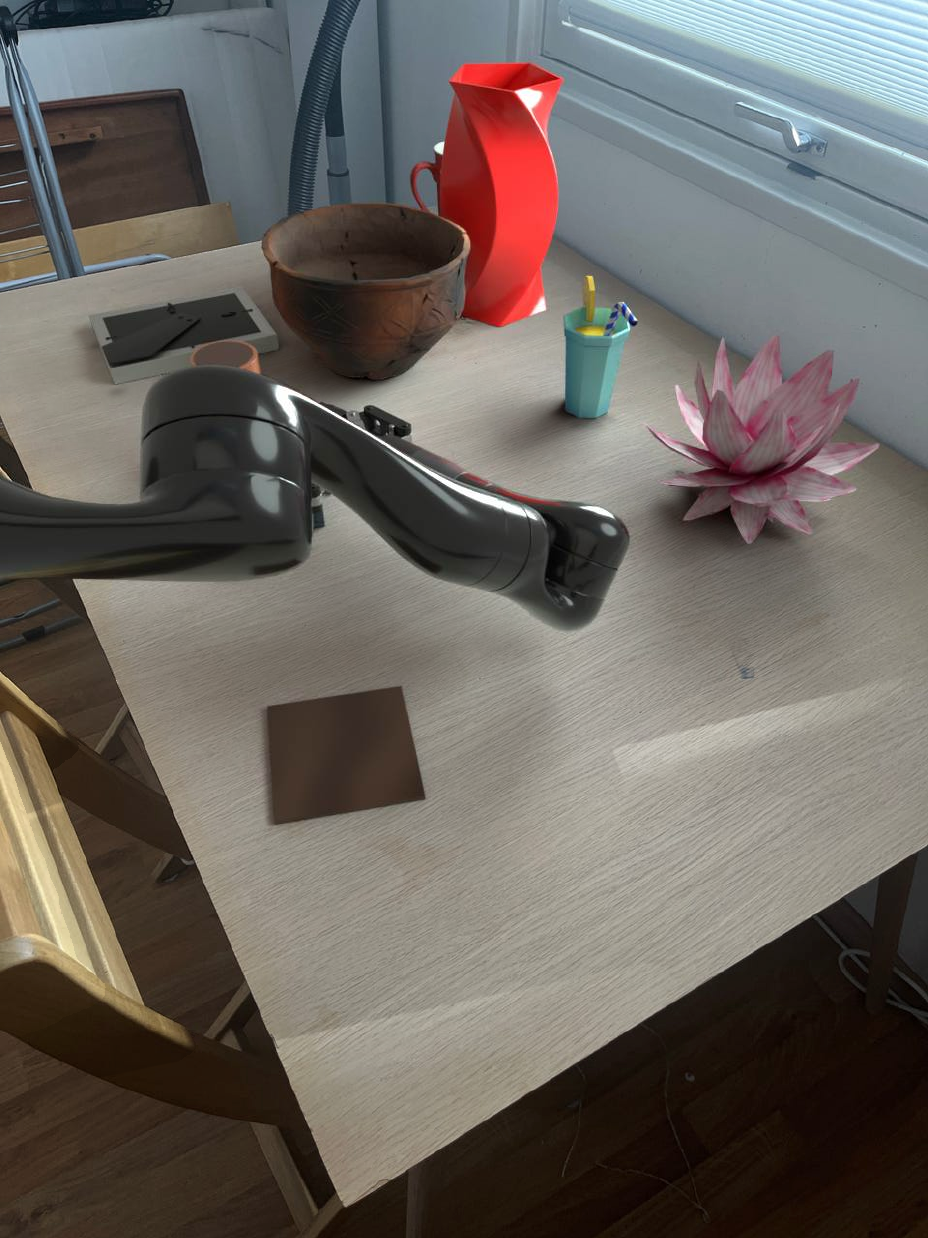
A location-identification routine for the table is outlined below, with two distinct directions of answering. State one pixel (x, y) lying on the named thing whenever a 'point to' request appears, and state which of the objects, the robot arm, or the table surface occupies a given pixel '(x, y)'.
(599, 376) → the cup
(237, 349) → the tumbler
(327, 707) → the coaster
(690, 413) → the decorative flower
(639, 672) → the table surface
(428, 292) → the bowl
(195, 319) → the picture frame
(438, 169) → the mug
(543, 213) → the vase
